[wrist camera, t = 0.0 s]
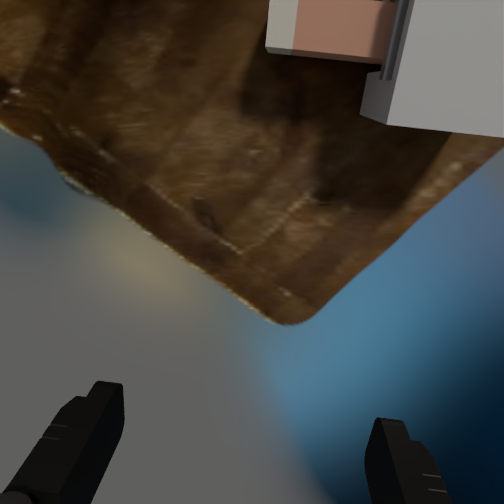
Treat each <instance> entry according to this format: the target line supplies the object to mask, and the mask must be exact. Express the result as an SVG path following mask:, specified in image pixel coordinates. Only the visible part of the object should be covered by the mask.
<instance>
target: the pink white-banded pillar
mask: <svg viewBox="0 0 504 504" xmlns="http://www.w3.org/2000/svg"><path fill="white" fill-rule="evenodd" d="M394 5H395V3H394V2H384V1H374V0H270V4H269V14H268V24H267V34H266V44H265V47H266V49H267V52H268V53H275V54H285V55H295V56H305V57H314V58H323V59H333V60H342V61H352V62H361V63H371V64H380V65H382V62H383V57H384V52H385V47H386V43H387V38H388V33H389V29H390V24H391V19H392V14H393V10H394Z"/></svg>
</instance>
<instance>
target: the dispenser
mask: <svg viewBox="0 0 504 504" xmlns="http://www.w3.org/2000/svg"><path fill="white" fill-rule="evenodd" d="M382 1H384V2H394V3H395V5H394V10H393V14H392V19H391V24H390V29H389V33H388V38H387V43H386V47H385V52H384V57H383V62H382V66H381V71H378V72H371V73H368V74H367V79H366V84H365V89H364V94H363V99H362V104H361V109H360V114H359V115H362V116H365V117H367V118H370V119H373V120H375V121H378V122H381V123H383V124H386V125H395V126H404V127H413V128H422V129H431V130H440V131H449V132H458V133H467V134H476V135H485V136H495V137H504V0H382Z"/></svg>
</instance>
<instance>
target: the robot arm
mask: <svg viewBox="0 0 504 504" xmlns="http://www.w3.org/2000/svg"><path fill="white" fill-rule="evenodd" d="M124 417H125V416H124V396H123V385H122V384H120V383H113V382H104V381H97V382H96V383H95V384H94V385H93V387H92V389H91V390H90V392H89V393H88V395H87V397H81V396H76V397H74V398H73V399H72V400H71V401H69V402H68V403H67V404H65V405H64V406H63V407H62V408H61V409H60V410H59V412H58V413H57V415H56V416H55V418H54V419H53V421H52V422H51V425H50V426H48V428H47V429H46V431H45V432H44V434H43V436H42V438H40V440H39V441H38V443H37V444H36V446H35V447H34V448H33V450H32V451H31V453H30V454H29V456H28V457H27V459H26V460H25V461H24V463H23V465H22V466H21V467H20V469H19V470H18V472H17V473H16V475H15V476H14V478H13V479H12V481H11V482H10V483H9V485H8V486H7V488H6V489H5V490H4V491H3V492H2V493H1V494H0V504H91V502H92V500H93V497H94V495H95V493H96V491H97V489H98V487H99V484H100V482H101V480H102V478H103V476H104V473H105V471H106V469H107V467H108V465H109V462H110V460H111V458H112V456H113V454H114V451H115V449H116V447H117V445H118V443H119V440H120V438H121V435H122V431H123V427H124V420H125V418H124ZM364 461H365V462H364V465H365V474H366V479H367V483H368V487H369V493H370V497H371V502H372V504H452V502H451V499H450V497H449V495H448V494H447V489H446V487H445V485H444V482H443V480H442V479H441V477H440V476H441V475H440V472H439V470H438V468H437V465H436V463H435V460H434V458H433V456H432V455H431V454H430V453H429V452H428V450H427V449H426V448H425V447H424V445H423V444H422V443H421V442H420V441H414V440H410V437H409V435H408V432H407V429H406V426H405V424H404V422H403V421H401V420H394V419H386V418H378V417H377V418H376V420H375V422H374V425H373V428H372V431H371V435H370V438H369V441H368V444H367V448H366V451H365V459H364Z"/></svg>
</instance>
